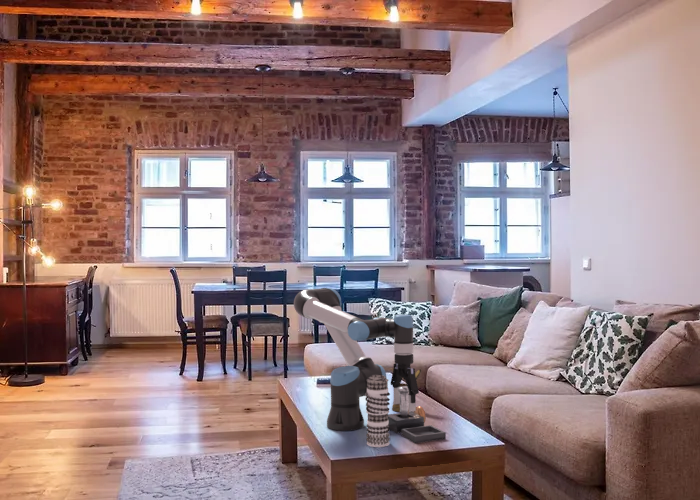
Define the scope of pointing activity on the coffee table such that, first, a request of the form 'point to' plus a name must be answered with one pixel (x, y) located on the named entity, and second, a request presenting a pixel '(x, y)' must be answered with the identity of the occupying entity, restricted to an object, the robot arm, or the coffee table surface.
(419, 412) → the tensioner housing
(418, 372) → the wooden mug
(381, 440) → the decorative candle
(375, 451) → the coffee table surface
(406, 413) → the lock pin
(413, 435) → the tray
